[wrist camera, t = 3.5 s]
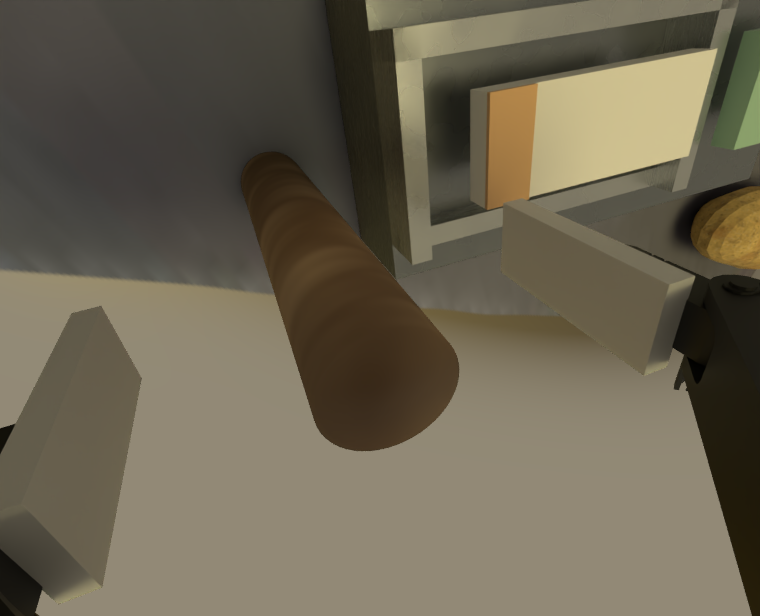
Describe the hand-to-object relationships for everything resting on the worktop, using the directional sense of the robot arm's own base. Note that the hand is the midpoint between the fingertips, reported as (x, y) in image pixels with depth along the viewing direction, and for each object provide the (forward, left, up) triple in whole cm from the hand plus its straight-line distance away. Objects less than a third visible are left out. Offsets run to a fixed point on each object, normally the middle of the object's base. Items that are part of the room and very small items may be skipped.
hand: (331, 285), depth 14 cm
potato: (+37, -11, -13) cm, 40 cm away
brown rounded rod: (0, 0, -12) cm, 12 cm away
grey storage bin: (+17, +2, -12) cm, 21 cm away
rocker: (+13, +2, -3) cm, 14 cm away
